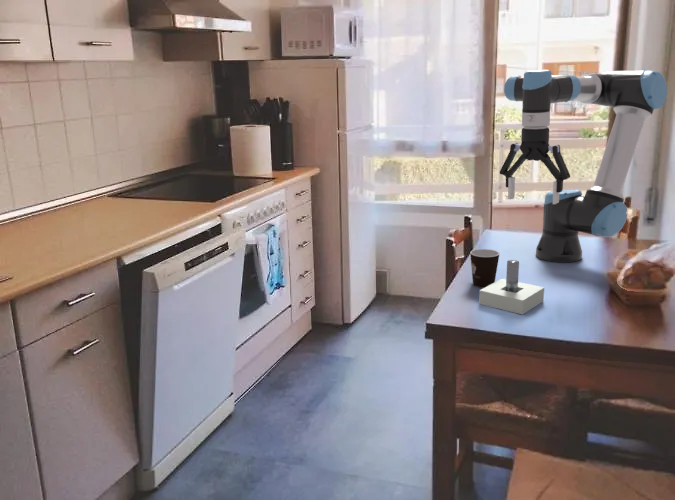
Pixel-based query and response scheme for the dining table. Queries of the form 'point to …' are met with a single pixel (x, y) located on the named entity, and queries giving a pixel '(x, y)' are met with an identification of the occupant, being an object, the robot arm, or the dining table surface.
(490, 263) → the coffee mug
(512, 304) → the hole block
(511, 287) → the peg
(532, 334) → the dining table surface
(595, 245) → the dining table surface
